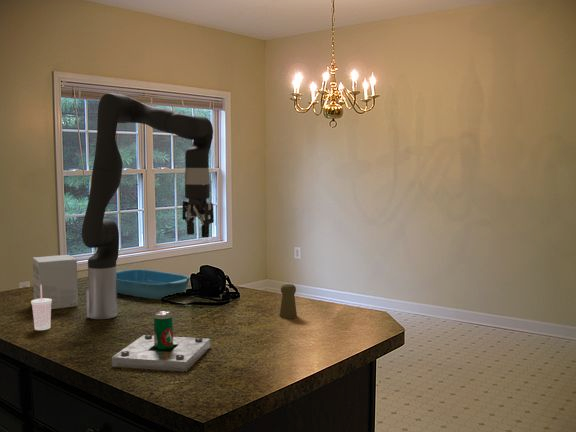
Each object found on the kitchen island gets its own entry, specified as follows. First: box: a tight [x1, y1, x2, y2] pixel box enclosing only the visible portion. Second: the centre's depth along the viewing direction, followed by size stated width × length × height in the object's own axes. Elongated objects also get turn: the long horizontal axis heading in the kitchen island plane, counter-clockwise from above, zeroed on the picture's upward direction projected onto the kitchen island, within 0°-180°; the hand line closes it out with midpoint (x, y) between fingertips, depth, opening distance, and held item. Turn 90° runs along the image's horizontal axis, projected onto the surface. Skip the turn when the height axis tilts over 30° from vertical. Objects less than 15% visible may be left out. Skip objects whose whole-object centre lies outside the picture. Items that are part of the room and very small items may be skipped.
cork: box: [279, 283, 298, 319], centre depth 203 cm, size 6×6×11 cm
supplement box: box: [32, 254, 79, 310], centre depth 218 cm, size 13×13×18 cm
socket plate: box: [111, 334, 211, 372], centre depth 161 cm, size 20×20×3 cm
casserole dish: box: [116, 268, 191, 300], centre depth 240 cm, size 37×22×7 cm, turn 59°
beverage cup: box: [30, 285, 52, 331], centre depth 187 cm, size 6×6×14 cm
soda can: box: [153, 310, 174, 352], centre depth 161 cm, size 5×5×12 cm
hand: (197, 235), depth 181 cm, fingers open, 8 cm apart
